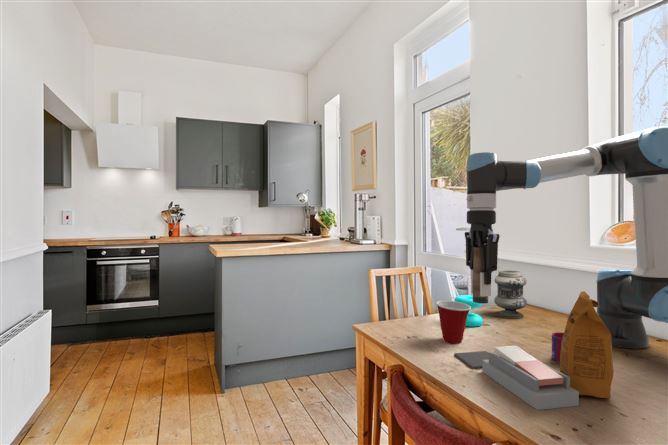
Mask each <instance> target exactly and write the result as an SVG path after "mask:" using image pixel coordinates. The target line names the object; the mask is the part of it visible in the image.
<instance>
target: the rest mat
mask: <svg viewBox="0 0 668 445" xmlns="http://www.w3.org/2000/svg"><path fill="white" fill-rule="evenodd" d="M453 356H454V357H456V358H458V360H460V361H461V362H463V363H464V364H465V365H467V366H469V367H470V368H471V369H473V370H474V369H475V370H476V369H477V370H478V369H483V360H489V351H487V350H484V351H483V350H482V351H480V350H479V351H470V352H469V351H468V352H455V353H454V354H453Z"/></svg>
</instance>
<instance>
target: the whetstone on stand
mask: <svg viewBox="0 0 668 445" xmlns="http://www.w3.org/2000/svg"><path fill="white" fill-rule="evenodd" d="M488 353H489V360H483V368H482V373H484V374H485V375H487V377H488V376H489V378H491V379H493V380H494V381H495V382H497V383H498V384H500V385H501V386H503V387H504V388H505V389H506V390H508V391H509V392H511V393H513V394H514V395H515V396H517V398H518V399H520V400H522V401H524V402H525V403H527V404H528V405H529V406H530V407H532V408H534V410H537V411H541V410H551V409H552V410H553V409H558V408H559V409H560V408H570V407H577V406H579V403H580V399H579V398H580V397H579V396H580V395H579V391H577V390H575V389H573V388H571V387H570V377H569V376H567V375H565V374H563V373H561V372H560V370H557V369H555V368H554V367H551V366H550V365H548V364H545V363H544V362H541V361H540V362H541V363H543V364H544V365H546V366H547V367H549V368H550V369H552V370H553V371H555V372H556V373H558V374H559V375H561V376H562V377H564V381H563V384H553V385H543V386H539V380H538V379H536V378H535V377H533V376H531V375H529V374H528V373H526V372H524V371H523V370H521V369H519V368H518V367H516V366H514V365H513V364H511V363H509V362H508V361H506V360H504V359H503V358H501V357H500V356H499V355H497V354H496V353H495V352H492V351H488Z"/></svg>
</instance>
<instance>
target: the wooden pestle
mask: <svg viewBox="0 0 668 445" xmlns="http://www.w3.org/2000/svg"><path fill="white" fill-rule="evenodd" d="M480 270H482V263H481V253H480V247H474V260H473V293H472V296H473V302H475V303H483V304H488V303H489V296H483V297H482V296H480Z"/></svg>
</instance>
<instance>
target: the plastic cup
mask: <svg viewBox="0 0 668 445" xmlns="http://www.w3.org/2000/svg"><path fill="white" fill-rule="evenodd" d="M435 304H436V306H437V310H438V315H439V316H438V317H439V322H440V323H439V324H440V329H441V334H442V338H443V341H444V342H445V343H448V344H461V343H462V342H463V339H464V334H465V330H466V326H465V325H466V320H467V316H468V313H470V310H472V308H471V307H470V306H469V305H467V304H463V303H460V302H455V301H454V300H438V301H436V303H435Z"/></svg>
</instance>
